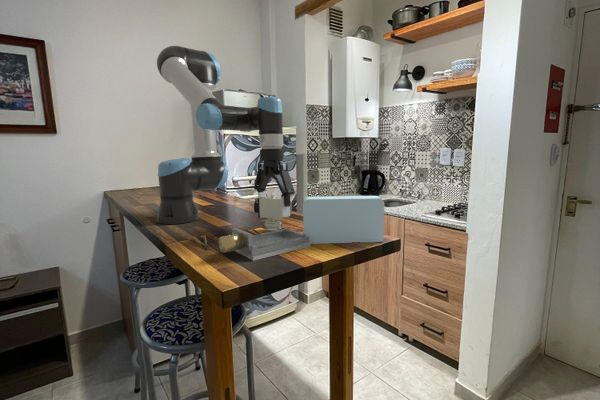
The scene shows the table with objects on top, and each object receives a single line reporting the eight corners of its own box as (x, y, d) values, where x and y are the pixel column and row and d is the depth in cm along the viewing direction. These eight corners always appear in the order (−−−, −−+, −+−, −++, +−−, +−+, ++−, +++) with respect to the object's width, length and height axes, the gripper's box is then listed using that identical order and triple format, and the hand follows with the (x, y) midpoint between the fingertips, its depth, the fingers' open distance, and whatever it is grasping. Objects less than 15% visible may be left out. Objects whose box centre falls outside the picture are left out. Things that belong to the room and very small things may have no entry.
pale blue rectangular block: (378, 237, 98) (379, 195, 96) (383, 243, 93) (384, 198, 91) (303, 238, 98) (302, 196, 96) (303, 244, 93) (303, 199, 91)
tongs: (204, 252, 87) (204, 245, 87) (190, 241, 98) (190, 235, 98) (219, 250, 90) (219, 243, 89) (204, 239, 100) (204, 233, 100)
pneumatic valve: (289, 232, 105) (288, 195, 103) (254, 231, 107) (253, 195, 105) (292, 228, 110) (292, 193, 108) (259, 227, 113) (258, 192, 111)
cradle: (234, 265, 76) (233, 240, 75) (212, 251, 87) (210, 229, 86) (310, 246, 90) (310, 225, 89) (283, 236, 100) (282, 217, 100)
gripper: (242, 149, 111) (245, 210, 115) (284, 147, 92) (286, 221, 95) (261, 148, 116) (263, 207, 119) (305, 147, 96) (306, 217, 100)
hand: (273, 213), depth 107 cm, fingers open, 13 cm apart
